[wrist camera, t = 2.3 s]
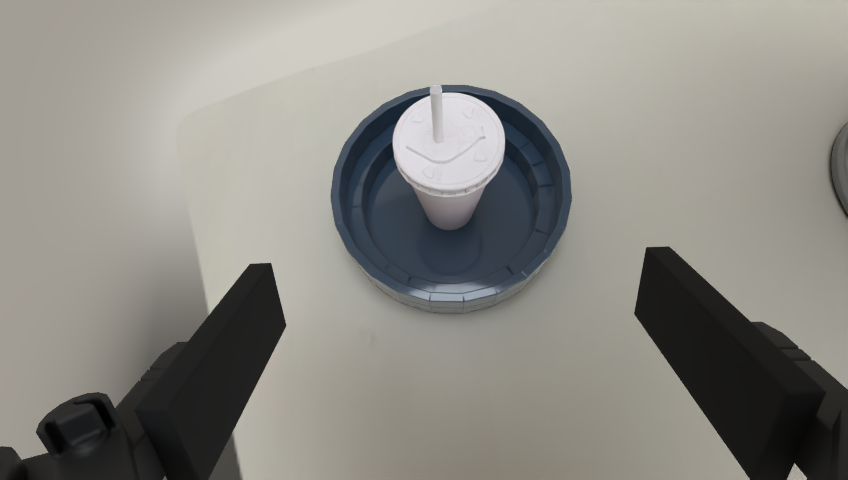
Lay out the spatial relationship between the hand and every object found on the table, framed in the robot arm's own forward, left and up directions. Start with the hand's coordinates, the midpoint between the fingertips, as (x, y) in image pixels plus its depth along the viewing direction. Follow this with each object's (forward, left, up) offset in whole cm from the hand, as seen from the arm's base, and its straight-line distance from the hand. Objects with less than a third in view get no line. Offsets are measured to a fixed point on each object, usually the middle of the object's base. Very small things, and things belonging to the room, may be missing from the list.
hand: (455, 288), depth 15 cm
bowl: (+7, -7, -16) cm, 19 cm away
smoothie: (+7, -7, -16) cm, 18 cm away
